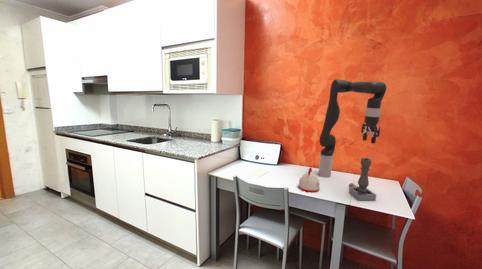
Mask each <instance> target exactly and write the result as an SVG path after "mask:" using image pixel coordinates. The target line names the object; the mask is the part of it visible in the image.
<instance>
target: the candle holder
mask: <svg viewBox="0 0 482 269" xmlns="http://www.w3.org/2000/svg"><path fill="white" fill-rule="evenodd" d="M371 165H372V159H371V158H368V157H367V158H366V157H361V159H360V166H361V167H360V170H361V173H360V176H359V178H358V180H357V186H358V189H357V192H358V193H360V194H367V189H368V188H367V187H369V185H370V184H369V171H371V169H370V167H371ZM366 188H367V189H366Z"/></svg>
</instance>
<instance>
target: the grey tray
mask: <svg viewBox="0 0 482 269" xmlns="http://www.w3.org/2000/svg"><path fill="white" fill-rule="evenodd" d="M358 187H359V185H355V184H354V183H352V182H351V183H349V184H348V194H349V193H350V194H349V195H351V197H352V198H354V199H356V200H357V202H376V199H377V194H375V193H374V192H373V191H372V190H370V189H369V188H366V189H367V194H360V193H358V192H357V189H358Z"/></svg>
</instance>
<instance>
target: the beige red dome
mask: <svg viewBox="0 0 482 269" xmlns="http://www.w3.org/2000/svg"><path fill="white" fill-rule="evenodd" d="M312 171H313V168H312V166H311V167H310V166H309V169H308V172H305V173H303V175H302V176H301V177H300V178H299V180H298V187H297V188H298V189H299V190H300V191H302V192H304V191H305V193H309V192H310V193H309V194H312V193H313V194H314V193H317V192H319V191H320V180H319V178H318V177H317V176H316V174H315V173H314V172H312Z"/></svg>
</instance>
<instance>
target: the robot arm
mask: <svg viewBox="0 0 482 269" xmlns="http://www.w3.org/2000/svg"><path fill="white" fill-rule="evenodd" d="M386 91H387V85H386V83H385V82H383V81H355V82H352V81H350V80H345V79H333V80H332V82H331V85H330V90H329V99H328V105H327V107H326V108H327V109H326V114H325V116H324V117H325V118H324V123H323V127H322V130H321V133H320V136H319V139H318V140H319V144H320V146H321V147H322V149H321V150H320V153H319V154H320V156H319V166H318V175H319V176H320V177H324V178H330V177H331V176H332V167H333V166H332V165H333V157H334V153H335V148H336V141H337V140H336V137H335V135H334V134H331V131H332V130H333V128H334V126H335V125H336V123H337V122H338V121H339V119H340V118H339V117H340V113H341V109H340V106H339V103H338V94H339V93H340V94H341V93H343V94H344V93H348V92H349V93H350V92H353V93H359V94H370V95H373V96H372V97H370V98H368V99H367V104H366V110H365V115H364V123H362V125H361V129H360V130H361V131H360V133H361V134H362V141H367V139H368V134H370V135H371V139H370V143H371V144H376V140H377V138H379V137H380V132H381V127H380V126H377V125H378V124H379V123H380V122H379V121H380V115H381V106H382V105H381V104H382V101H383V99H384V96H385V94H386ZM323 147H324V148H323Z"/></svg>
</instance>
